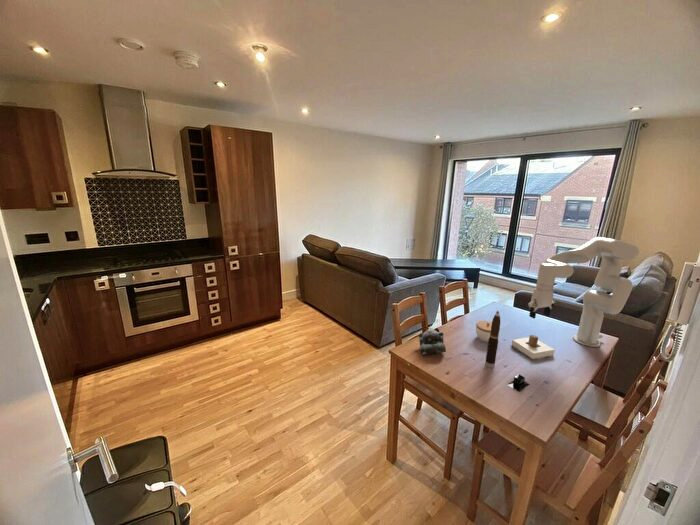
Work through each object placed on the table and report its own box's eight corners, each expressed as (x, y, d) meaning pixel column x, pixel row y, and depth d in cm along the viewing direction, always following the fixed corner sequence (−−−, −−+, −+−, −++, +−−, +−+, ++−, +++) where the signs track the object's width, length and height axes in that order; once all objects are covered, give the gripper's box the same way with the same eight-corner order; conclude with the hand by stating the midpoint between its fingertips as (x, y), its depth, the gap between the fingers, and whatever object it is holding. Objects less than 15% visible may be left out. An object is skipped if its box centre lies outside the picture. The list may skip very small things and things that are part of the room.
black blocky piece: (517, 376, 138) (519, 368, 137) (533, 385, 132) (535, 376, 131) (503, 385, 131) (504, 377, 130) (519, 395, 125) (521, 386, 124)
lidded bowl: (502, 342, 167) (505, 325, 164) (486, 346, 162) (488, 329, 159) (485, 332, 178) (487, 316, 175) (469, 336, 174) (472, 319, 171)
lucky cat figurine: (415, 354, 154) (413, 328, 158) (423, 353, 164) (421, 328, 167) (443, 355, 146) (440, 327, 149) (449, 353, 156) (447, 327, 159)
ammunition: (486, 361, 149) (494, 308, 141) (495, 364, 146) (504, 310, 138) (483, 365, 145) (491, 311, 138) (493, 368, 143) (502, 314, 135)
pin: (531, 347, 161) (533, 334, 158) (537, 351, 157) (540, 338, 155) (525, 348, 159) (527, 335, 157) (531, 352, 156) (534, 339, 154)
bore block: (531, 342, 167) (532, 336, 166) (553, 356, 154) (554, 349, 153) (511, 346, 163) (512, 339, 162) (532, 360, 150) (533, 353, 149)
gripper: (550, 282, 155) (545, 311, 160) (525, 285, 151) (520, 315, 155) (564, 287, 148) (558, 317, 153) (537, 290, 144) (532, 321, 148)
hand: (539, 316), depth 154 cm, fingers open, 9 cm apart
